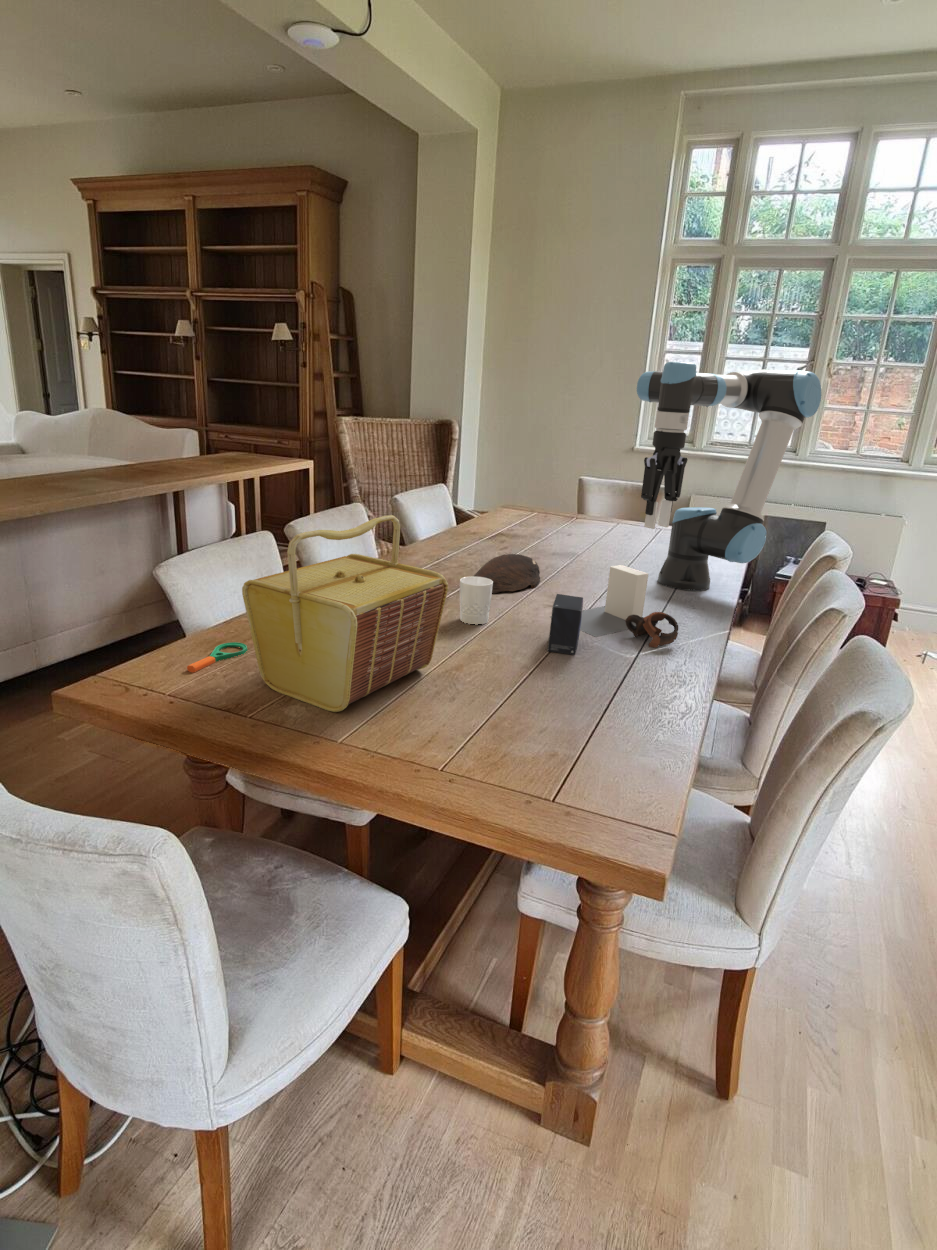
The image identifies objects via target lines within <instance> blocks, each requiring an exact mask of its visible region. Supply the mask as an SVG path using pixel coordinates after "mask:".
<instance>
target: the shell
mask: <svg viewBox="0 0 937 1250" xmlns="http://www.w3.org/2000/svg"><path fill="white" fill-rule="evenodd" d="M540 573H541V569H540V566H539V563H538V562H537V561H535V560H534V559H533V558H532V557H529V556H526V555H522V554H518V553H517V554H516V553H509V554H501V555H498V556H496V557H492V559H489V560H488V561H487V562H486V563H485V564H483V565H482V566H481V567H480V568H479V570H477V572H476V573H475V574H474V575H473V576H476V577H484V578H488V579H491V580H492V581H493V588H492V593H493V594H497V593H501V592H516V591H520V590H523V589H526V588H528V587H529V586H531V587H530V589H536V588H537V587H538V585H539V584H540V582H541V577H540Z"/></svg>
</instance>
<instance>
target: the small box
mask: <svg viewBox="0 0 937 1250" xmlns="http://www.w3.org/2000/svg"><path fill="white" fill-rule="evenodd" d="M583 608H584V597H583V596H576V595H575V596H574V595H568V594H561V593H556V595H555V599H554V602H553V605H552V609H551V616H552V617H551V618H550V626H549V628H550V629H549V635H548V636H549V637H548V643H547V649H546V650H547V652H552V653H558V654H564V655H565V654H566V655H572V656H575V655H576V652H577V647H578V644H579V640H580V639H579V638H580V633H581V631H580V628H581V620H582V610H583Z"/></svg>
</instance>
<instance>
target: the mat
mask: <svg viewBox="0 0 937 1250" xmlns="http://www.w3.org/2000/svg"><path fill="white" fill-rule="evenodd" d="M551 617H552V615H551V616H549V618H550V619H551ZM642 617H643V618H644V617H645V616H642ZM632 624H633V625H634V626H636V624H635V623H634V622H632ZM623 631H630V630H629V629H628V628H627V626H626V622H625V620H624V619H622V618H619V617H617V616H614V615H612V614H609V613H606V612H605V605H604V606H597V607H592V608H587V609H584V610H582V620H581V628H580V632H583V633H585V634H588V635H590V636H592V637H595V638H597V637H602V636H605V635H610V634H615V633H619V632H623Z"/></svg>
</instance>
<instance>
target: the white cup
mask: <svg viewBox="0 0 937 1250" xmlns="http://www.w3.org/2000/svg"><path fill="white" fill-rule="evenodd" d="M492 588H493V581H492V580H491V579H488V578H484V577H476V576H474V575H473V576H471V575H470V576H463V577H461V578H460V579H459V610H460V611H459V620H460V621H462V622H461V623H463V622H464V624H466V623H468V624H467V625H470V624H475V625H474V626H479V625H478V624H482V625H484V624H487V623H488V621H489V618H490V617H489V615H490V611H491V609H490V608H491V603H492V596H493V594H492Z"/></svg>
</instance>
